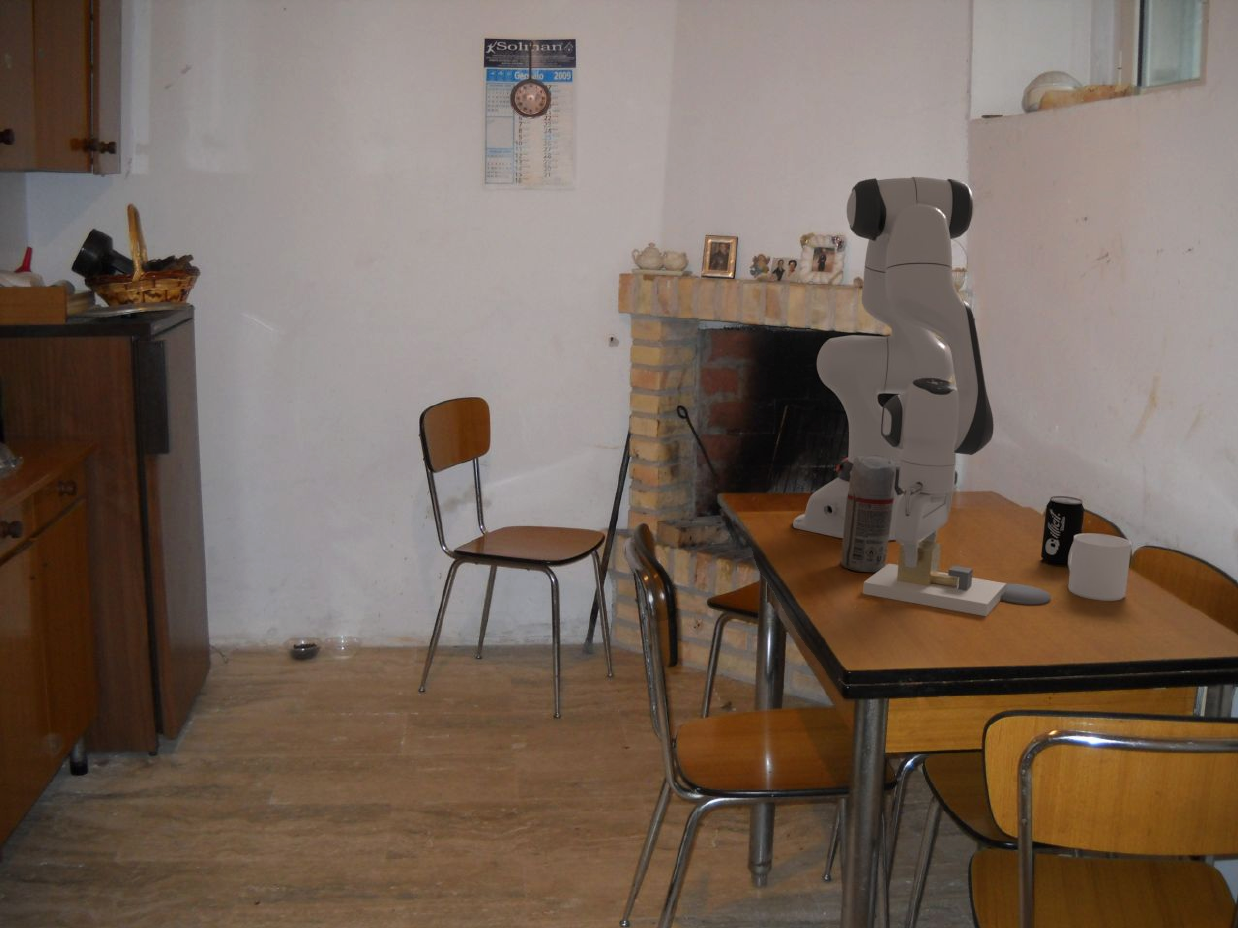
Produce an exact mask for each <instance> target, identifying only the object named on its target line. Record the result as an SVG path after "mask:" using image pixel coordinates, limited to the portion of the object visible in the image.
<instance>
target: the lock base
mask: <svg viewBox="0 0 1238 928" xmlns="http://www.w3.org/2000/svg"><path fill="white" fill-rule="evenodd" d="M973 572H974V569H973V568H969V567H964V566H957V565H952V566H951V567H950V568H949V569H948V573H947V572H941V571H939V572H938V573H939V574H944V575H948V576H954V577H959V584H958V585H957V586H956V587H955V586H950V585H944V584H938V583H932V584H931V585H930V586H925V585H919V584H914V583H908V582H902V581H897V575H898V564H893V563H888V564H885V567H884V568H882V569H881V570H879V571H878V572H874V574H873V575H871V576H870V577H869V578H867V579H866V580H865V581H863V588H862V595H866V596H873V597H879V598H884V599H890V600H894V601H901V602H905V603H911V604H916V605H923V606H927V607H933V608H939V609H945V610H949V611H955V612H960V613H965V614H971V615H977V616H982V617H988V615H989V614H990V613H991V612H992V611H993V609H994V608H995V607H996V606H997V605H998V603H1000V601H1002V600H1001V596H1002V595H1003V594H1004V592H1005V591H1006V583H1007V582H999V581H996V580H994V581H993V580H988V579H983V578H977V577H973Z"/></svg>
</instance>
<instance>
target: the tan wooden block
mask: <svg viewBox="0 0 1238 928" xmlns="http://www.w3.org/2000/svg"><path fill="white" fill-rule="evenodd" d="M941 549H942V543H940V542H936V541H935V542H929V541H923V540H922V541H921V542H919V547H918V556H919V558H918V565H917V566H916V567H914V568H911V567H906V566H905V552H904V544H902V543H900V544H899V551H898V552H899V553H898V564H897V565H898V575H897V581H902V582H908V583H914V584H919V585H925V586H930V585H931V584H932V583H938V584H944V585H950V586H955V587H956V586H957V585H958V584H959V577H954V576H948V575H944V574H939V573H938V572H940V571H939V570H940V562H941V561H940V560H941V559H940V558H941Z"/></svg>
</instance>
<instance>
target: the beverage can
mask: <svg viewBox="0 0 1238 928" xmlns="http://www.w3.org/2000/svg"><path fill="white" fill-rule="evenodd" d="M1083 502H1084V501H1083V500H1082V498H1078V497H1074V496H1069V495H1068V496H1066V495H1053V496H1050V497H1049V501H1048V502H1047V504H1046V507H1045V517H1044V526H1043V533H1042V544H1041V553H1040V557H1041V558H1042V561H1043V562H1045V563H1046V564H1049V565H1053V566H1058V567H1059V566H1060V567H1069V566H1068V556H1069V551H1070V548H1071V545H1072V543H1073V541H1074V536H1075V535H1077V534H1083V525H1084V517H1085V507H1084V506H1083Z"/></svg>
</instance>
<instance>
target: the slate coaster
mask: <svg viewBox="0 0 1238 928" xmlns="http://www.w3.org/2000/svg"><path fill="white" fill-rule="evenodd" d="M1005 583H1006V591H1005V592H1004V594H1003V595H1002V596H1001V600H1000V601H1002V602H1006V603H1012V604H1018V605H1027V606H1028V605H1032V606H1033V605H1034V606H1035V605H1036V606H1037V605H1044V604H1047V603H1049V602H1050V601H1051V596H1052V595H1051V594H1050V593H1049V592H1048V591H1046V590H1044V589H1042V588H1039V587H1035V586H1031V585H1025V584H1020V583H1010V582H1009V583H1007V582H1005Z"/></svg>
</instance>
